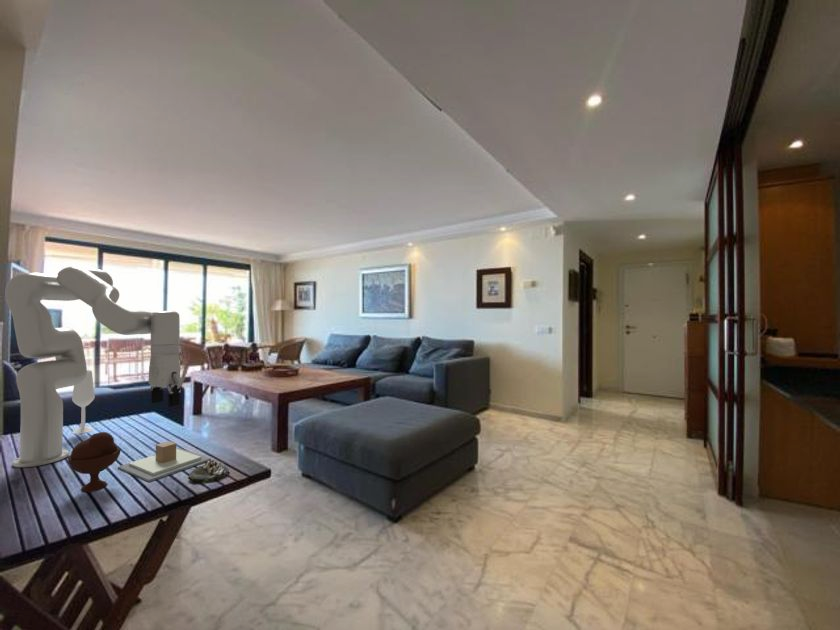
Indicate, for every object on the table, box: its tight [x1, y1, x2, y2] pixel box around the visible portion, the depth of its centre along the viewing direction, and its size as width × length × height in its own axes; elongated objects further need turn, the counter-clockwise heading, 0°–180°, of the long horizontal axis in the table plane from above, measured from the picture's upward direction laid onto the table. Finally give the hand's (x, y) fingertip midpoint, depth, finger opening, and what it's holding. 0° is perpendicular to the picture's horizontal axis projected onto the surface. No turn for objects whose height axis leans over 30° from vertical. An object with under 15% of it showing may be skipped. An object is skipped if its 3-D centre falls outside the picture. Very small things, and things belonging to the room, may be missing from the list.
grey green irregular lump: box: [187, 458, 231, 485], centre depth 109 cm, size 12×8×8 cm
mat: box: [117, 447, 212, 483], centre depth 116 cm, size 18×18×1 cm
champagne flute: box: [71, 369, 96, 435], centre depth 146 cm, size 7×7×24 cm
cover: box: [129, 440, 201, 476], centre depth 116 cm, size 14×14×6 cm
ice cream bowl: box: [66, 431, 122, 493], centre depth 100 cm, size 11×11×15 cm
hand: (165, 403), depth 116 cm, fingers open, 9 cm apart
